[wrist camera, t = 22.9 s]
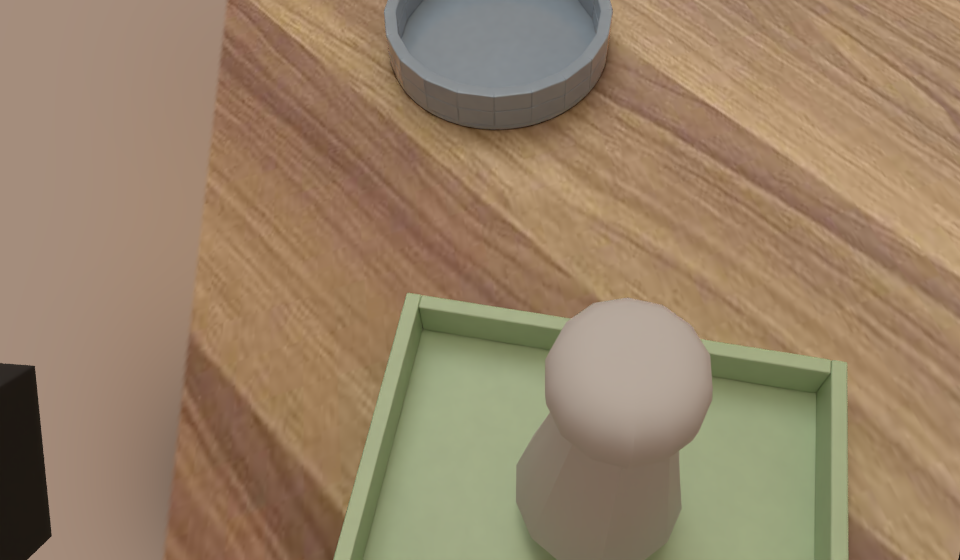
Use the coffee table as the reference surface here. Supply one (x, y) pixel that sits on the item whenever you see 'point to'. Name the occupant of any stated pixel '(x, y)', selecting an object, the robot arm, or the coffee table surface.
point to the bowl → (497, 56)
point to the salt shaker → (614, 432)
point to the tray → (522, 409)
